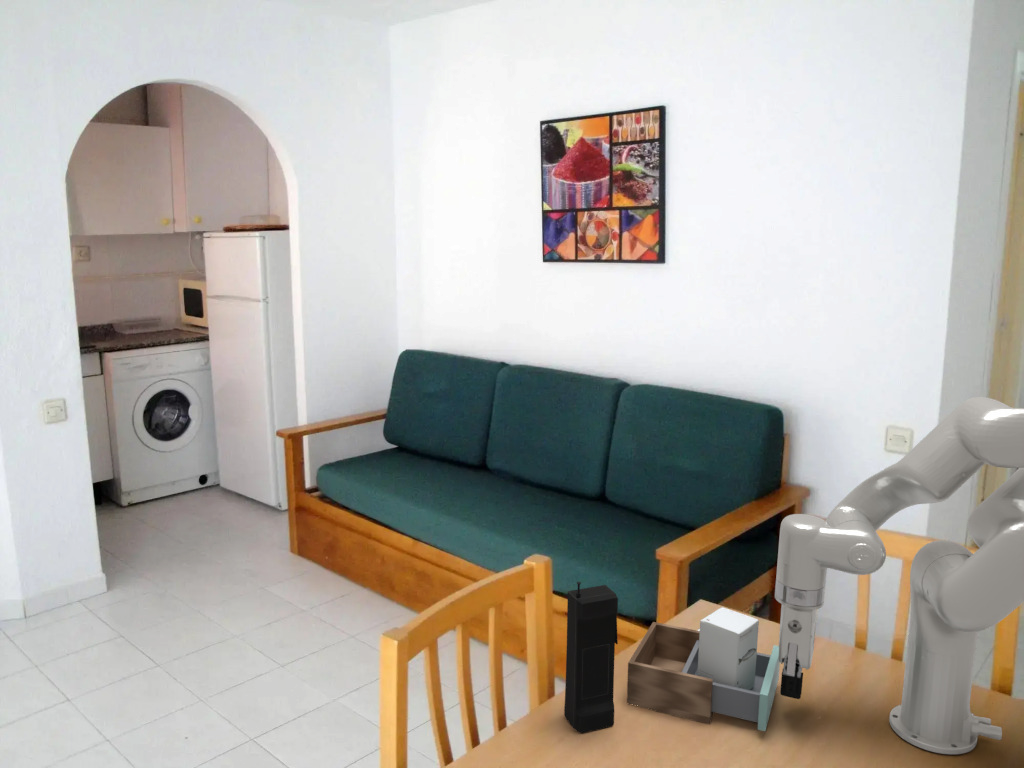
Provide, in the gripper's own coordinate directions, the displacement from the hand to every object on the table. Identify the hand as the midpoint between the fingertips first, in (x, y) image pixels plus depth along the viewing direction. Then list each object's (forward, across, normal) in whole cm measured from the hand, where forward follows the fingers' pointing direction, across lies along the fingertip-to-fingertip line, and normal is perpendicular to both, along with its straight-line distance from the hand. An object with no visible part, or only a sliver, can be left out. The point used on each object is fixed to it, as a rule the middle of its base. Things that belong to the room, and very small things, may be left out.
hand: (790, 694), depth 135 cm
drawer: (+3, 0, +10) cm, 10 cm away
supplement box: (+2, 0, +10) cm, 11 cm away
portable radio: (+4, -15, +30) cm, 33 cm away
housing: (+4, 0, +18) cm, 19 cm away
